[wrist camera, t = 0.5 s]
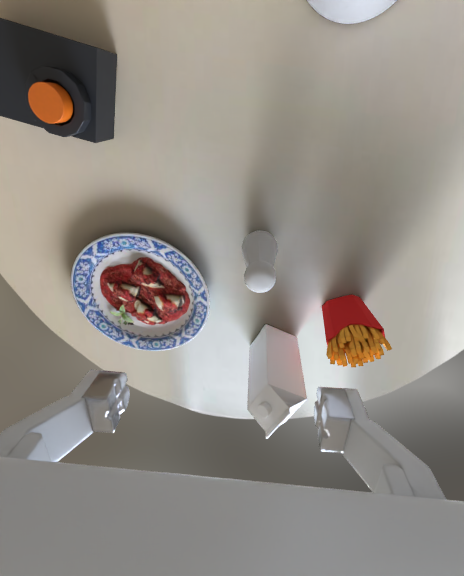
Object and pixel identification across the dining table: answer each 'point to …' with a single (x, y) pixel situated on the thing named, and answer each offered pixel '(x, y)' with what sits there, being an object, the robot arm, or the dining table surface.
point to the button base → (57, 80)
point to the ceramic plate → (140, 291)
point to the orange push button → (50, 102)
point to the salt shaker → (260, 260)
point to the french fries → (352, 332)
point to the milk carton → (274, 378)
